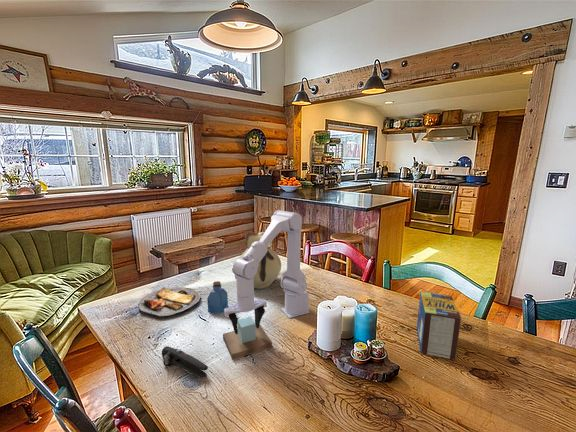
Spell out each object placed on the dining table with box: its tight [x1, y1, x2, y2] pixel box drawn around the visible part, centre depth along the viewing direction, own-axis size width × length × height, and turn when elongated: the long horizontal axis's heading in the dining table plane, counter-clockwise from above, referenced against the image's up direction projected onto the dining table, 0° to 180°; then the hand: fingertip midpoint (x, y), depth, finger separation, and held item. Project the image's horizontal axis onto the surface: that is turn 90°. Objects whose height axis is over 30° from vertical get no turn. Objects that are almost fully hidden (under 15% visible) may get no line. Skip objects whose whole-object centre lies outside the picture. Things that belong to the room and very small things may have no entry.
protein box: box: [416, 291, 462, 361], centre depth 99 cm, size 10×15×16 cm
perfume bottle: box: [206, 281, 229, 314], centre depth 121 cm, size 6×6×12 cm
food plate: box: [137, 286, 201, 317], centre depth 127 cm, size 25×23×4 cm
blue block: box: [237, 316, 256, 343], centre depth 100 cm, size 5×5×6 cm
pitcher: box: [238, 231, 282, 289], centre depth 144 cm, size 22×24×25 cm
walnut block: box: [222, 324, 273, 361], centre depth 100 cm, size 14×12×2 cm
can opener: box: [161, 345, 209, 379], centre depth 88 cm, size 18×7×6 cm, turn 61°
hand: (246, 329), depth 99 cm, fingers open, 7 cm apart
